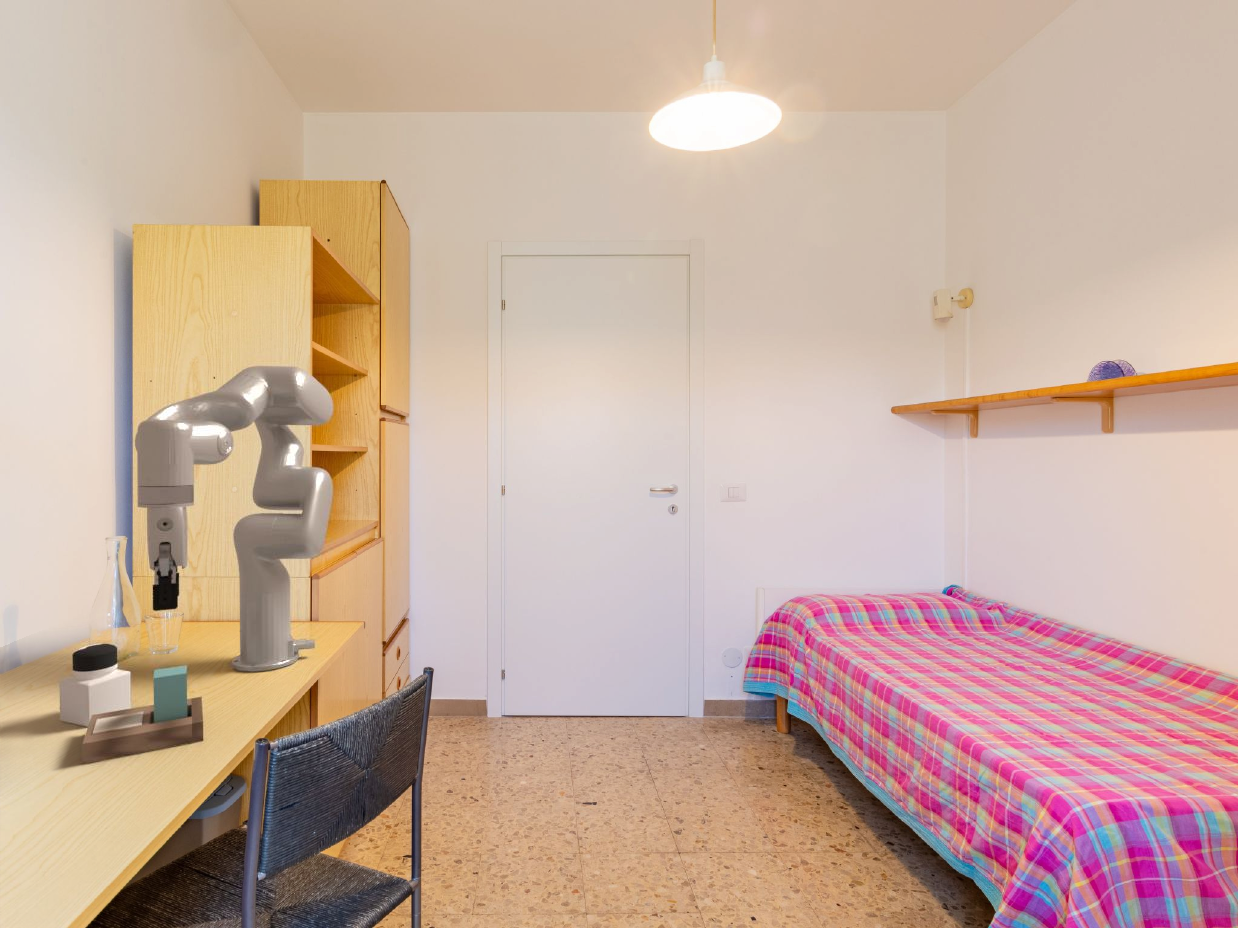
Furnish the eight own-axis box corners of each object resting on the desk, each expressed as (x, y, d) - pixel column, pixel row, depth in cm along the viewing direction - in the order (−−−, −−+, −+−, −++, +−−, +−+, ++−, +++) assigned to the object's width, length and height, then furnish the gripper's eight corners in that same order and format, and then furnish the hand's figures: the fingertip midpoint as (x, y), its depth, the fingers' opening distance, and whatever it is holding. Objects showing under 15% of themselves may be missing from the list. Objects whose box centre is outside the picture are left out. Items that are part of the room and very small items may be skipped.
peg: (187, 724, 113) (186, 665, 112) (187, 734, 109) (186, 673, 109) (155, 730, 110) (154, 669, 110) (154, 740, 107) (153, 678, 106)
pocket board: (201, 713, 117) (201, 695, 117) (203, 740, 107) (203, 720, 107) (92, 733, 109) (91, 713, 109) (82, 764, 99) (82, 742, 99)
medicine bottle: (132, 711, 118) (131, 643, 117) (88, 727, 111) (87, 655, 110) (103, 705, 120) (102, 638, 120) (59, 721, 113) (57, 650, 113)
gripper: (193, 500, 103) (193, 611, 104) (194, 493, 118) (194, 591, 118) (133, 501, 99) (133, 617, 100) (141, 494, 114) (141, 595, 114)
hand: (166, 603), depth 109 cm, fingers open, 9 cm apart
